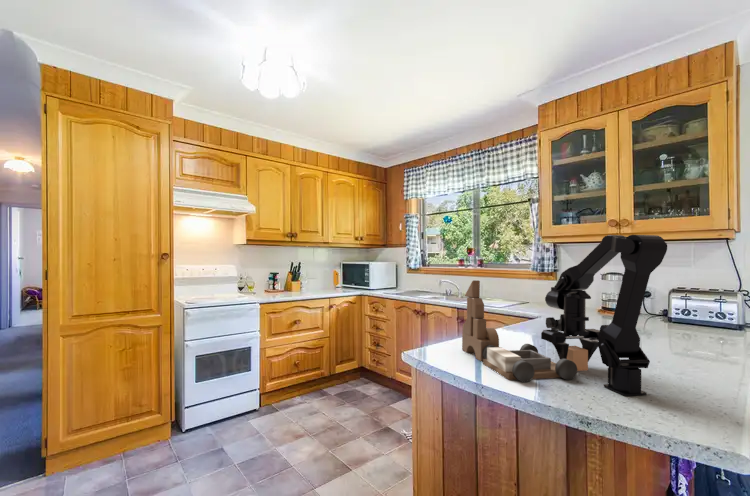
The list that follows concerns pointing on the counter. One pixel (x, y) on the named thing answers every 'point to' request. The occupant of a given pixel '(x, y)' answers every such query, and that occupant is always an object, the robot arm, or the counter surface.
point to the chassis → (526, 364)
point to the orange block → (578, 357)
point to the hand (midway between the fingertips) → (574, 364)
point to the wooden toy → (476, 324)
